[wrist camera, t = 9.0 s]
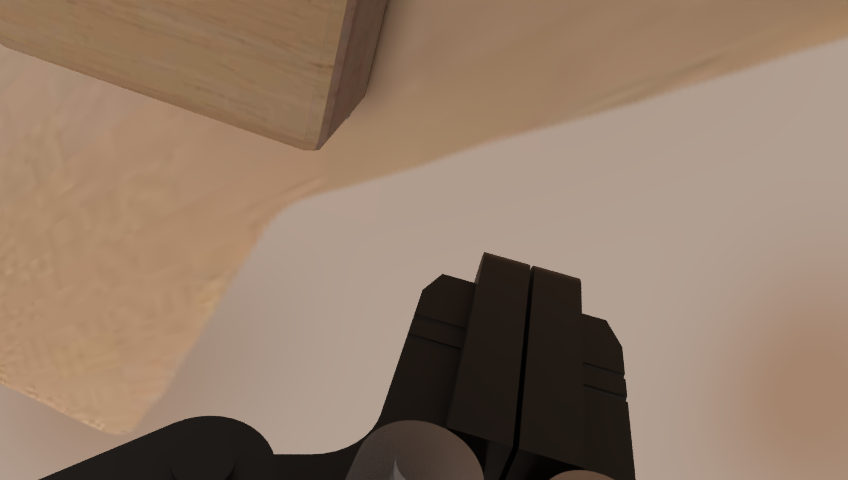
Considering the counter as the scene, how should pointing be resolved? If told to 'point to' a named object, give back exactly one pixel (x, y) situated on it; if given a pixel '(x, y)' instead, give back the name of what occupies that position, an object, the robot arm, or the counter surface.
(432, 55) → the counter surface
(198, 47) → the wooden block
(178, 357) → the counter surface
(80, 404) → the counter surface
